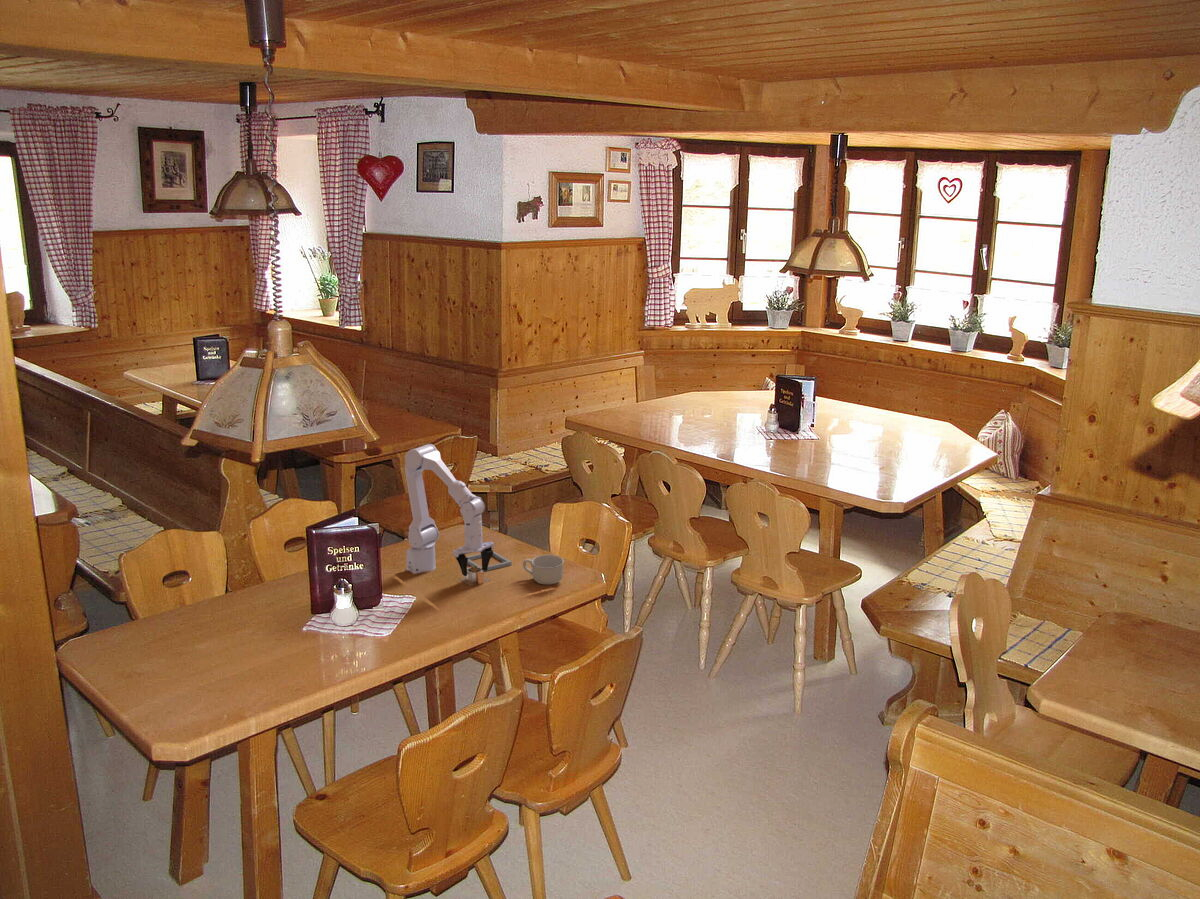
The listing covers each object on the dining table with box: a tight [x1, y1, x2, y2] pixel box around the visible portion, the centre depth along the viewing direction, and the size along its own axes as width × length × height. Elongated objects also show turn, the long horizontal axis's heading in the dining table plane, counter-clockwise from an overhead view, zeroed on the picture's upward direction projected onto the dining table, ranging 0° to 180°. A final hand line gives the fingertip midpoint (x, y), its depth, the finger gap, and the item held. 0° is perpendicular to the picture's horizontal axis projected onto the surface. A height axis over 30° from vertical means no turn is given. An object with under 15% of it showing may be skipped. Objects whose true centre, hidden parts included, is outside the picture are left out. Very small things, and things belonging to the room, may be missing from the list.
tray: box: [466, 550, 513, 573], centre depth 345 cm, size 12×13×2 cm
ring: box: [465, 566, 485, 585], centre depth 330 cm, size 6×7×4 cm
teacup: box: [522, 554, 565, 586], centre depth 330 cm, size 14×11×8 cm
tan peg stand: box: [458, 566, 492, 587], centre depth 330 cm, size 8×8×5 cm
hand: (474, 572), depth 330 cm, fingers open, 7 cm apart
